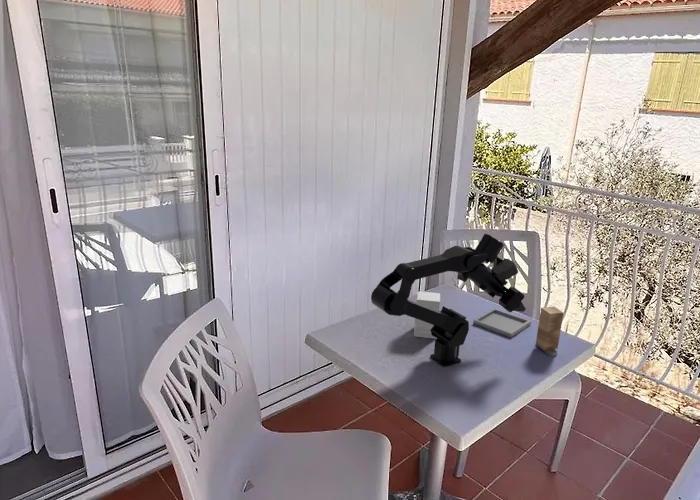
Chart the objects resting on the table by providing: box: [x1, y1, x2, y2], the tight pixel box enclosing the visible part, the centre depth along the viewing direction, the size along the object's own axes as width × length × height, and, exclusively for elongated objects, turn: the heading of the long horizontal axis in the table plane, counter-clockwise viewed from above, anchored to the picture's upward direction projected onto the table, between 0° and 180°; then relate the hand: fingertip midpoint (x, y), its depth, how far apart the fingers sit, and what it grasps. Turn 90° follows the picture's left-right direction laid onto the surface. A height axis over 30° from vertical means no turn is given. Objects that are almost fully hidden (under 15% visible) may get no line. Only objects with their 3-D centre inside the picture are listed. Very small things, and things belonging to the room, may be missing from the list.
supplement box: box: [413, 291, 441, 339], centre depth 153 cm, size 7×7×13 cm
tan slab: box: [535, 306, 564, 357], centre depth 144 cm, size 4×7×13 cm, turn 12°
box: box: [472, 308, 532, 339], centre depth 162 cm, size 14×14×2 cm
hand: (515, 303), depth 143 cm, fingers open, 9 cm apart
